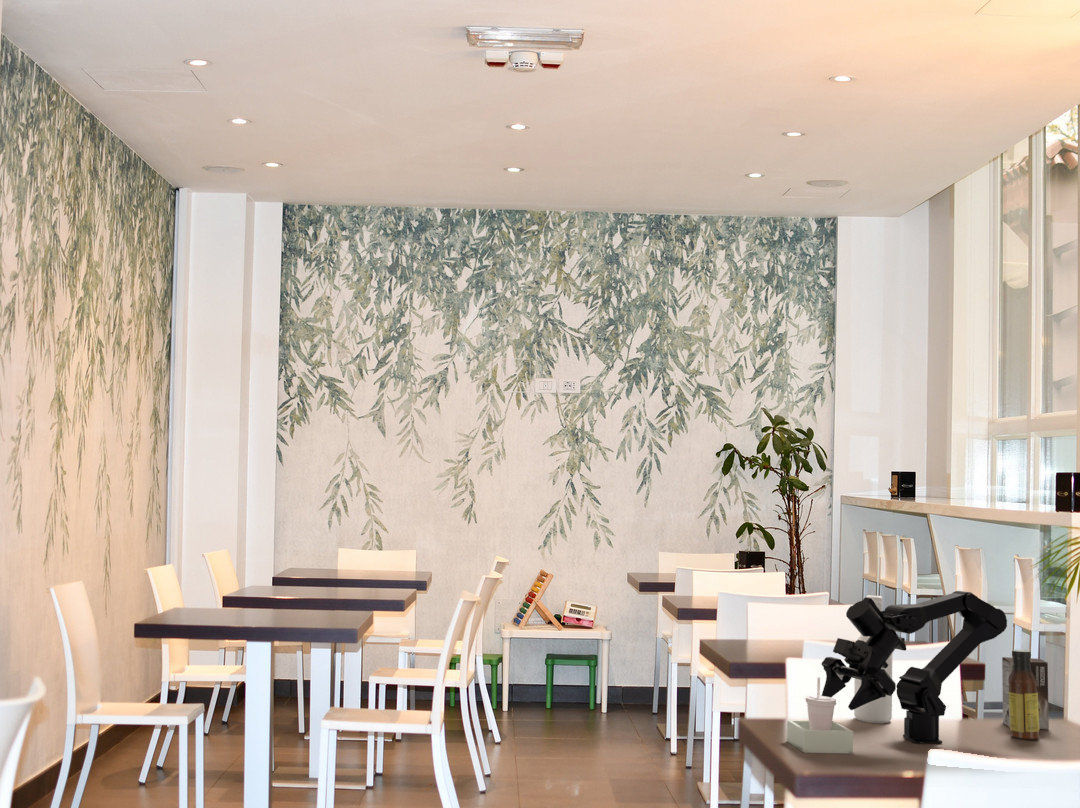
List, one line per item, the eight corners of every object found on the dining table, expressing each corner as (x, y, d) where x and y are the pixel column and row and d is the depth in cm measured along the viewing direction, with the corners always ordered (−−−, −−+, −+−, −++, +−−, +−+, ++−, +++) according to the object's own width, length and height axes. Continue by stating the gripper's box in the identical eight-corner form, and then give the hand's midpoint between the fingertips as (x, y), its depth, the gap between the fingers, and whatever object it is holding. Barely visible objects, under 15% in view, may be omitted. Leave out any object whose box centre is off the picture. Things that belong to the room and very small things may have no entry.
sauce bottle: (1039, 736, 249) (1039, 650, 251) (1039, 742, 244) (1039, 653, 245) (1008, 733, 252) (1008, 647, 254) (1008, 738, 246) (1008, 650, 248)
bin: (833, 741, 235) (833, 721, 236) (852, 753, 225) (853, 731, 225) (786, 741, 234) (787, 720, 234) (804, 752, 224) (804, 730, 224)
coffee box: (1039, 724, 264) (1039, 658, 266) (1049, 730, 258) (1049, 662, 259) (1001, 722, 265) (1001, 656, 267) (1010, 727, 259) (1010, 659, 260)
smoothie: (805, 739, 233) (807, 674, 235) (836, 742, 231) (838, 677, 232) (802, 745, 227) (804, 678, 228) (834, 749, 225) (835, 681, 226)
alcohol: (897, 724, 258) (899, 598, 260) (862, 723, 257) (864, 597, 260) (882, 716, 266) (883, 594, 269) (848, 716, 266) (850, 593, 268)
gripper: (828, 620, 244) (787, 671, 239) (885, 631, 227) (842, 686, 221) (856, 654, 246) (816, 706, 241) (914, 667, 229) (873, 723, 224)
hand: (835, 704), depth 232 cm, fingers open, 9 cm apart
